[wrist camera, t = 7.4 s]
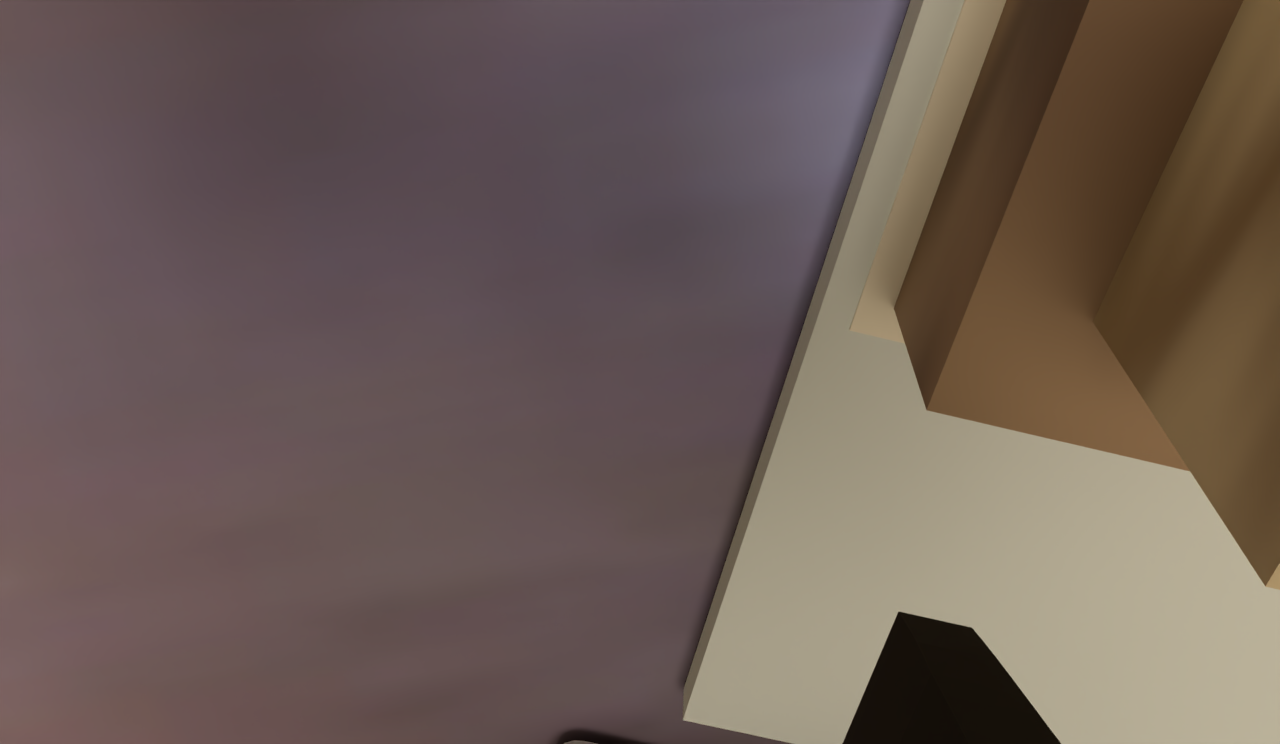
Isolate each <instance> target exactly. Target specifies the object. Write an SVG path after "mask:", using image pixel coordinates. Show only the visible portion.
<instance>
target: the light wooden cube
mask: <svg viewBox="0 0 1280 744" xmlns="http://www.w3.org/2000/svg"><path fill="white" fill-rule="evenodd" d="M1093 323H1094V325H1095V326H1096V328H1097V329H1098V331H1099V332H1100V334H1101V335H1102V337H1103V339H1104V340H1105V342H1106V343H1107V345H1108V346H1109V348H1110V349H1111V351H1112V352H1113V354H1114V355H1115V357H1116V358H1117V360H1118V362H1119V363H1120V365H1121V366H1122V368H1123V369H1124V371H1125V372H1126V374H1127V375H1128V377H1129V378H1130V380H1131V381H1132V383H1133V385H1134V386H1135V388H1136V389H1137V391H1138V392H1139V394H1140V395H1141V397H1142V398H1143V400H1144V401H1145V403H1146V404H1147V406H1148V408H1149V409H1150V411H1151V412H1152V414H1153V415H1154V417H1155V418H1156V420H1157V421H1158V423H1159V424H1160V426H1161V427H1162V429H1163V431H1164V432H1165V434H1166V435H1167V437H1168V438H1169V440H1170V441H1171V443H1172V444H1173V446H1174V447H1175V449H1176V450H1177V452H1178V453H1179V455H1180V457H1181V458H1182V460H1183V461H1184V463H1185V464H1186V466H1187V467H1188V469H1189V470H1190V472H1191V473H1192V475H1193V476H1194V478H1195V480H1196V481H1197V483H1198V484H1199V486H1200V487H1201V489H1202V490H1203V492H1204V493H1205V495H1206V496H1207V498H1208V499H1209V501H1210V503H1211V504H1212V506H1213V507H1214V509H1215V510H1216V512H1217V513H1218V515H1219V516H1220V518H1221V519H1222V521H1223V522H1224V524H1225V526H1226V527H1227V529H1228V530H1229V532H1230V533H1231V535H1232V536H1233V538H1234V539H1235V541H1236V542H1237V544H1238V545H1239V547H1240V549H1241V550H1242V552H1243V553H1244V555H1245V556H1246V558H1247V559H1248V561H1249V562H1250V564H1251V565H1252V567H1253V568H1254V570H1255V572H1256V573H1257V575H1258V576H1259V578H1260V579H1261V581H1262V582H1263V584H1264V585H1265V587H1270V588H1274V589H1278V590H1280V0H1244V1H1243V3H1242V5H1241V7H1240V9H1239V11H1238V13H1237V16H1236V18H1235V20H1234V22H1233V24H1232V26H1231V28H1230V30H1229V33H1228V35H1227V37H1226V39H1225V41H1224V43H1223V45H1222V48H1221V50H1220V52H1219V54H1218V56H1217V58H1216V60H1215V62H1214V65H1213V67H1212V69H1211V71H1210V73H1209V75H1208V77H1207V80H1206V82H1205V84H1204V86H1203V88H1202V90H1201V92H1200V94H1199V97H1198V99H1197V101H1196V103H1195V105H1194V107H1193V109H1192V111H1191V114H1190V116H1189V118H1188V120H1187V122H1186V124H1185V126H1184V129H1183V131H1182V133H1181V135H1180V137H1179V139H1178V141H1177V143H1176V146H1175V148H1174V150H1173V152H1172V154H1171V156H1170V158H1169V161H1168V163H1167V165H1166V167H1165V169H1164V171H1163V173H1162V175H1161V178H1160V180H1159V182H1158V184H1157V186H1156V188H1155V190H1154V193H1153V195H1152V197H1151V199H1150V201H1149V203H1148V205H1147V207H1146V210H1145V212H1144V214H1143V216H1142V218H1141V220H1140V222H1139V224H1138V227H1137V229H1136V231H1135V233H1134V235H1133V237H1132V239H1131V242H1130V244H1129V246H1128V248H1127V250H1126V252H1125V254H1124V256H1123V259H1122V261H1121V263H1120V265H1119V267H1118V269H1117V271H1116V274H1115V276H1114V278H1113V280H1112V282H1111V284H1110V286H1109V288H1108V291H1107V293H1106V295H1105V297H1104V299H1103V301H1102V303H1101V306H1100V308H1099V310H1098V312H1097V314H1096V316H1095V318H1094V320H1093Z"/></svg>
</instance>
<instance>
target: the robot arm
mask: <svg viewBox="0 0 1280 744" xmlns="http://www.w3.org/2000/svg"><path fill="white" fill-rule="evenodd" d="M564 744H597V743H592V742H587V741H576V740H574V741H570V742H566V743H564ZM843 744H1061V743H1060V741H1059V740H1058V739H1057V737H1056V736H1055V735H1054V733H1053V732H1052V731H1051V729H1050V728H1049V727H1048V725H1047V724H1046V723H1045V721H1044V720H1043V719H1042V717H1041V716H1040V715H1039V713H1038V712H1037V711H1036V709H1035V708H1034V707H1033V705H1032V704H1031V703H1030V701H1029V700H1028V699H1027V697H1026V696H1025V695H1024V693H1023V692H1022V691H1021V689H1020V688H1019V687H1018V685H1017V684H1016V683H1015V681H1014V680H1013V679H1012V677H1011V676H1010V675H1009V674H1008V672H1007V671H1006V670H1005V668H1004V667H1003V666H1002V664H1001V663H1000V662H999V660H998V659H997V658H996V657H995V655H994V654H993V653H992V651H991V650H990V649H989V648H988V646H987V645H986V644H985V643H984V641H983V640H982V639H981V638H980V637H979V635H978V634H977V633H976V632H975V631H974V629H973V628H972V627H967V626H962V625H958V624H953V623H949V622H944V621H940V620H935V619H931V618H926V617H922V616H917V615H913V614H908V613H904V612H899V611H898V614H897V616H896V618H895V621H894V623H893V625H892V628H891V630H890V633H889V635H888V637H887V640H886V642H885V644H884V647H883V649H882V651H881V654H880V656H879V659H878V661H877V663H876V666H875V668H874V670H873V673H872V675H871V677H870V680H869V682H868V685H867V687H866V689H865V692H864V694H863V696H862V699H861V701H860V703H859V706H858V708H857V711H856V713H855V715H854V718H853V720H852V722H851V725H850V727H849V729H848V732H847V734H846V737H845V739H844V741H843Z"/></svg>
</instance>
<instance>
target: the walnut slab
mask: <svg viewBox="0 0 1280 744" xmlns="http://www.w3.org/2000/svg"><path fill="white" fill-rule="evenodd" d="M1243 1H1244V0H1006V3H1005V5H1004V8H1003V11H1002V14H1001V16H1000V19H999V22H998V25H997V27H996V30H995V33H994V35H993V38H992V41H991V44H990V46H989V49H988V52H987V55H986V57H985V60H984V63H983V66H982V68H981V71H980V74H979V76H978V79H977V82H976V85H975V87H974V90H973V93H972V96H971V98H970V101H969V104H968V106H967V109H966V112H965V115H964V117H963V120H962V123H961V126H960V128H959V131H958V134H957V137H956V139H955V142H954V145H953V147H952V150H951V153H950V156H949V158H948V161H947V164H946V167H945V169H944V172H943V175H942V178H941V180H940V183H939V186H938V188H937V191H936V194H935V197H934V199H933V202H932V205H931V208H930V210H929V213H928V216H927V218H926V221H925V224H924V227H923V229H922V232H921V235H920V238H919V240H918V243H917V246H916V249H915V251H914V254H913V257H912V259H911V262H910V265H909V268H908V270H907V273H906V276H905V279H904V281H903V284H902V287H901V290H900V292H899V295H898V298H897V300H896V303H895V306H894V311H895V314H896V317H897V320H898V323H899V326H900V329H901V332H902V336H903V339H904V342H905V345H906V348H907V351H908V354H909V357H910V360H911V364H912V367H913V370H914V373H915V376H916V379H917V382H918V385H919V388H920V392H921V395H922V398H923V401H924V404H925V407H926V410H927V411H932V412H936V413H940V414H945V415H949V416H953V417H958V418H962V419H966V420H971V421H975V422H979V423H983V424H988V425H992V426H996V427H1001V428H1005V429H1009V430H1014V431H1018V432H1022V433H1027V434H1031V435H1035V436H1040V437H1044V438H1048V439H1052V440H1057V441H1061V442H1065V443H1070V444H1074V445H1078V446H1083V447H1087V448H1091V449H1096V450H1100V451H1104V452H1108V453H1113V454H1117V455H1121V456H1126V457H1130V458H1134V459H1139V460H1143V461H1147V462H1152V463H1156V464H1160V465H1165V466H1169V467H1173V468H1177V469H1182V470H1186V471H1190V470H1189V469H1188V467H1187V466H1186V464H1185V463H1184V461H1183V460H1182V458H1181V457H1180V455H1179V453H1178V452H1177V450H1176V449H1175V447H1174V446H1173V444H1172V443H1171V441H1170V440H1169V438H1168V437H1167V435H1166V434H1165V432H1164V431H1163V429H1162V427H1161V426H1160V424H1159V423H1158V421H1157V420H1156V418H1155V417H1154V415H1153V414H1152V412H1151V411H1150V409H1149V408H1148V406H1147V404H1146V403H1145V401H1144V400H1143V398H1142V397H1141V395H1140V394H1139V392H1138V391H1137V389H1136V388H1135V386H1134V385H1133V383H1132V381H1131V380H1130V378H1129V377H1128V375H1127V374H1126V372H1125V371H1124V369H1123V368H1122V366H1121V365H1120V363H1119V362H1118V360H1117V358H1116V357H1115V355H1114V354H1113V352H1112V351H1111V349H1110V348H1109V346H1108V345H1107V343H1106V342H1105V340H1104V339H1103V337H1102V335H1101V334H1100V332H1099V331H1098V329H1097V328H1096V326H1095V325H1094V323H1093V320H1094V318H1095V316H1096V314H1097V312H1098V310H1099V308H1100V306H1101V303H1102V301H1103V299H1104V297H1105V295H1106V293H1107V291H1108V288H1109V286H1110V284H1111V282H1112V280H1113V278H1114V276H1115V274H1116V271H1117V269H1118V267H1119V265H1120V263H1121V261H1122V259H1123V256H1124V254H1125V252H1126V250H1127V248H1128V246H1129V244H1130V242H1131V239H1132V237H1133V235H1134V233H1135V231H1136V229H1137V227H1138V224H1139V222H1140V220H1141V218H1142V216H1143V214H1144V212H1145V210H1146V207H1147V205H1148V203H1149V201H1150V199H1151V197H1152V195H1153V193H1154V190H1155V188H1156V186H1157V184H1158V182H1159V180H1160V178H1161V175H1162V173H1163V171H1164V169H1165V167H1166V165H1167V163H1168V161H1169V158H1170V156H1171V154H1172V152H1173V150H1174V148H1175V146H1176V143H1177V141H1178V139H1179V137H1180V135H1181V133H1182V131H1183V129H1184V126H1185V124H1186V122H1187V120H1188V118H1189V116H1190V114H1191V111H1192V109H1193V107H1194V105H1195V103H1196V101H1197V99H1198V97H1199V94H1200V92H1201V90H1202V88H1203V86H1204V84H1205V82H1206V80H1207V77H1208V75H1209V73H1210V71H1211V69H1212V67H1213V65H1214V62H1215V60H1216V58H1217V56H1218V54H1219V52H1220V50H1221V48H1222V45H1223V43H1224V41H1225V39H1226V37H1227V35H1228V33H1229V30H1230V28H1231V26H1232V24H1233V22H1234V20H1235V18H1236V16H1237V13H1238V11H1239V9H1240V7H1241V5H1242V3H1243Z"/></svg>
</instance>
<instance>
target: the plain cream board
mask: <svg viewBox="0 0 1280 744" xmlns="http://www.w3.org/2000/svg"><path fill="white" fill-rule="evenodd" d="M1005 3H1006V0H911V1H910V4H909V7H908V10H907V13H906V16H905V19H904V22H903V25H902V28H901V31H900V34H899V37H898V40H897V43H896V46H895V49H894V52H893V55H892V58H891V61H890V64H889V68H888V71H887V74H886V77H885V80H884V83H883V86H882V89H881V92H880V95H879V98H878V101H877V104H876V107H875V110H874V113H873V116H872V119H871V122H870V125H869V128H868V131H867V134H866V137H865V140H864V143H863V146H862V149H861V152H860V155H859V158H858V161H857V165H856V168H855V171H854V174H853V177H852V180H851V183H850V186H849V189H848V192H847V195H846V198H845V201H844V204H843V207H842V210H841V213H840V216H839V219H838V222H837V225H836V228H835V231H834V234H833V237H832V240H831V243H830V246H829V249H828V252H827V255H826V259H825V262H824V265H823V268H822V271H821V274H820V277H819V280H818V283H817V286H816V289H815V292H814V295H813V298H812V301H811V304H810V307H809V310H808V313H807V316H806V319H805V322H804V325H803V328H802V331H801V334H800V337H799V340H798V343H797V346H796V349H795V352H794V356H793V359H792V362H791V365H790V368H789V371H788V374H787V377H786V380H785V383H784V386H783V389H782V392H781V395H780V398H779V401H778V404H777V407H776V410H775V413H774V416H773V419H772V422H771V425H770V428H769V431H768V434H767V437H766V440H765V443H764V446H763V450H762V453H761V456H760V459H759V462H758V465H757V468H756V471H755V474H754V477H753V480H752V483H751V486H750V489H749V492H748V495H747V498H746V501H745V504H744V507H743V510H742V513H741V516H740V519H739V522H738V525H737V528H736V531H735V534H734V537H733V540H732V543H731V547H730V550H729V553H728V556H727V559H726V562H725V565H724V568H723V571H722V574H721V577H720V580H719V583H718V586H717V589H716V592H715V595H714V598H713V601H712V604H711V607H710V610H709V613H708V616H707V619H706V622H705V625H704V628H703V631H702V634H701V637H700V641H699V644H698V647H697V650H696V653H695V656H694V659H693V662H692V665H691V668H690V671H689V674H688V677H687V680H686V683H685V686H684V693H683V720H685V721H689V722H694V723H699V724H703V725H708V726H713V727H717V728H722V729H727V730H732V731H736V732H741V733H746V734H750V735H755V736H760V737H764V738H769V739H774V740H779V741H783V742H788V743H793V744H843V741H844V739H845V737H846V734H847V732H848V729H849V727H850V725H851V722H852V720H853V718H854V715H855V713H856V711H857V708H858V706H859V703H860V701H861V699H862V696H863V694H864V692H865V689H866V687H867V685H868V682H869V680H870V677H871V675H872V673H873V670H874V668H875V666H876V663H877V661H878V659H879V656H880V654H881V651H882V649H883V647H884V644H885V642H886V640H887V637H888V635H889V633H890V630H891V628H892V625H893V623H894V621H895V618H896V616H897V614H898V611H899V612H904V613H908V614H913V615H917V616H922V617H926V618H931V619H935V620H940V621H944V622H949V623H953V624H958V625H962V626H967V627H972V628H973V629H974V631H975V632H976V633H977V634H978V635H979V637H980V638H981V639H982V640H983V641H984V643H985V644H986V645H987V646H988V648H989V649H990V650H991V651H992V653H993V654H994V655H995V657H996V658H997V659H998V660H999V662H1000V663H1001V664H1002V666H1003V667H1004V668H1005V670H1006V671H1007V672H1008V674H1009V675H1010V676H1011V677H1012V679H1013V680H1014V681H1015V683H1016V684H1017V685H1018V687H1019V688H1020V689H1021V691H1022V692H1023V693H1024V695H1025V696H1026V697H1027V699H1028V700H1029V701H1030V703H1031V704H1032V705H1033V707H1034V708H1035V709H1036V711H1037V712H1038V713H1039V715H1040V716H1041V717H1042V719H1043V720H1044V721H1045V723H1046V724H1047V725H1048V727H1049V728H1050V729H1051V731H1052V732H1053V733H1054V735H1055V736H1056V737H1057V739H1058V740H1059V741H1060V743H1061V744H1280V590H1278V589H1274V588H1270V587H1265V585H1264V584H1263V582H1262V581H1261V579H1260V578H1259V576H1258V575H1257V573H1256V572H1255V570H1254V568H1253V567H1252V565H1251V564H1250V562H1249V561H1248V559H1247V558H1246V556H1245V555H1244V553H1243V552H1242V550H1241V549H1240V547H1239V545H1238V544H1237V542H1236V541H1235V539H1234V538H1233V536H1232V535H1231V533H1230V532H1229V530H1228V529H1227V527H1226V526H1225V524H1224V522H1223V521H1222V519H1221V518H1220V516H1219V515H1218V513H1217V512H1216V510H1215V509H1214V507H1213V506H1212V504H1211V503H1210V501H1209V499H1208V498H1207V496H1206V495H1205V493H1204V492H1203V490H1202V489H1201V487H1200V486H1199V484H1198V483H1197V481H1196V480H1195V478H1194V476H1193V475H1192V473H1191V472H1190V471H1186V470H1182V469H1177V468H1173V467H1169V466H1165V465H1160V464H1156V463H1152V462H1147V461H1143V460H1139V459H1134V458H1130V457H1126V456H1121V455H1117V454H1113V453H1108V452H1104V451H1100V450H1096V449H1091V448H1087V447H1083V446H1078V445H1074V444H1070V443H1065V442H1061V441H1057V440H1052V439H1048V438H1044V437H1040V436H1035V435H1031V434H1027V433H1022V432H1018V431H1014V430H1009V429H1005V428H1001V427H996V426H992V425H988V424H983V423H979V422H975V421H971V420H966V419H962V418H958V417H953V416H949V415H945V414H940V413H936V412H932V411H927V410H926V407H925V404H924V401H923V398H922V395H921V392H920V388H919V385H918V382H917V379H916V376H915V373H914V370H913V367H912V364H911V360H910V357H909V354H908V351H907V348H906V345H905V342H904V339H903V336H902V332H901V329H900V326H899V323H898V320H897V317H896V314H895V311H894V306H895V303H896V300H897V298H898V295H899V292H900V290H901V287H902V284H903V281H904V279H905V276H906V273H907V270H908V268H909V265H910V262H911V259H912V257H913V254H914V251H915V249H916V246H917V243H918V240H919V238H920V235H921V232H922V229H923V227H924V224H925V221H926V218H927V216H928V213H929V210H930V208H931V205H932V202H933V199H934V197H935V194H936V191H937V188H938V186H939V183H940V180H941V178H942V175H943V172H944V169H945V167H946V164H947V161H948V158H949V156H950V153H951V150H952V147H953V145H954V142H955V139H956V137H957V134H958V131H959V128H960V126H961V123H962V120H963V117H964V115H965V112H966V109H967V106H968V104H969V101H970V98H971V96H972V93H973V90H974V87H975V85H976V82H977V79H978V76H979V74H980V71H981V68H982V66H983V63H984V60H985V57H986V55H987V52H988V49H989V46H990V44H991V41H992V38H993V35H994V33H995V30H996V27H997V25H998V22H999V19H1000V16H1001V14H1002V11H1003V8H1004V5H1005Z"/></svg>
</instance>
